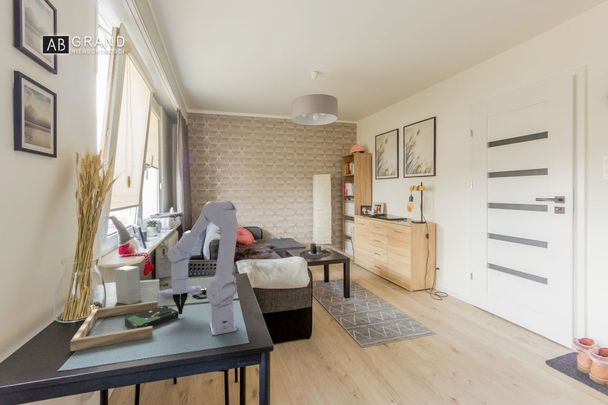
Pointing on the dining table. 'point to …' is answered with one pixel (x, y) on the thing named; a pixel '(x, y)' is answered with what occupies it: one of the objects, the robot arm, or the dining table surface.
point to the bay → (115, 337)
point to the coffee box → (165, 273)
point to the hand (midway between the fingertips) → (180, 313)
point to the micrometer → (201, 293)
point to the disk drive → (151, 317)
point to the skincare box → (128, 284)
